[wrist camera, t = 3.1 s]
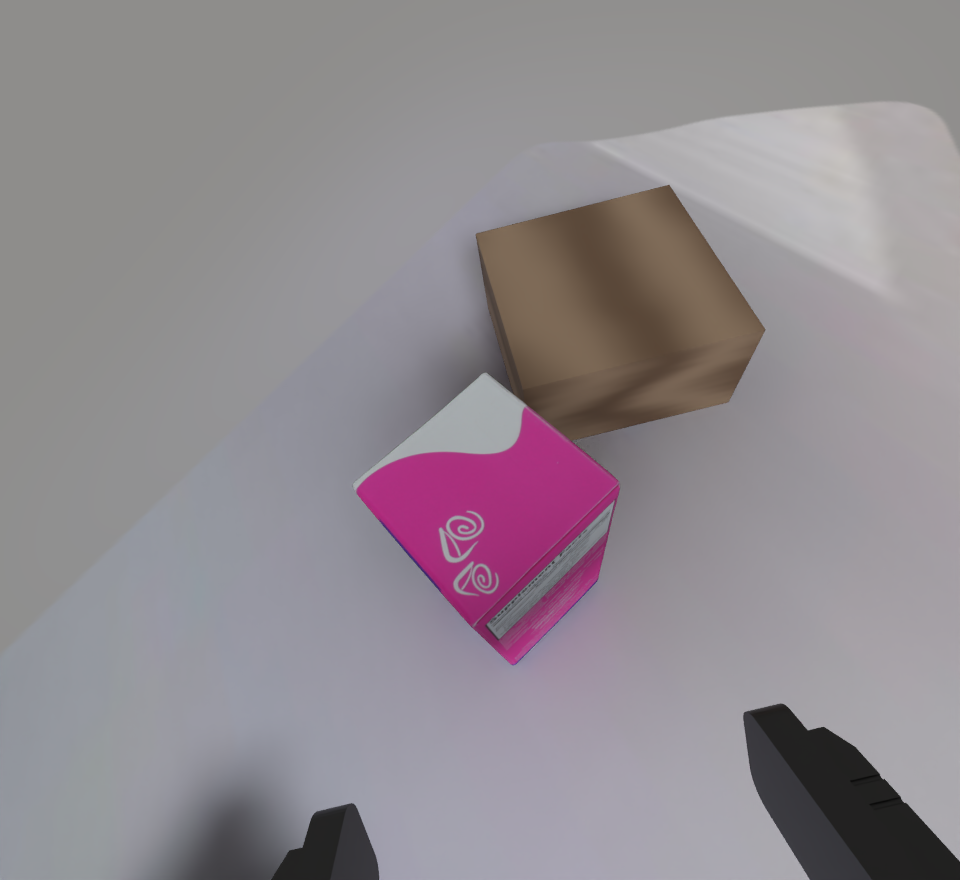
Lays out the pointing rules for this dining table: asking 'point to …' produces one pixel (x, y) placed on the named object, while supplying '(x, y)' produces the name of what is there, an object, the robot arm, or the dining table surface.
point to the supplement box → (496, 513)
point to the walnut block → (615, 314)
